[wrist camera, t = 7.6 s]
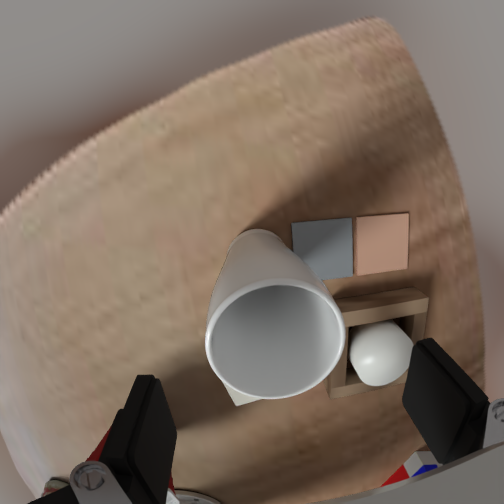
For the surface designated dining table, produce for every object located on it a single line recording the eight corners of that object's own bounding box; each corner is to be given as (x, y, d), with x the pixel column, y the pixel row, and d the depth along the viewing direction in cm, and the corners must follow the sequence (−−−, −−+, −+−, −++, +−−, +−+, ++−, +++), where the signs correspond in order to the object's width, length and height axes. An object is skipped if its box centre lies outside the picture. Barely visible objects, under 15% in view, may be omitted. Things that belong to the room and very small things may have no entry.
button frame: (323, 382, 33) (330, 399, 30) (324, 300, 30) (332, 314, 27) (404, 365, 33) (415, 379, 30) (414, 286, 31) (428, 297, 28)
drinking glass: (288, 295, 30) (330, 401, 15) (215, 289, 29) (200, 397, 15) (299, 223, 28) (362, 283, 14) (222, 215, 28) (207, 270, 13)
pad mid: (295, 282, 30) (295, 283, 29) (291, 222, 28) (291, 223, 28) (351, 275, 30) (352, 276, 29) (350, 217, 28) (351, 218, 28)
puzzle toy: (415, 450, 38) (439, 494, 29) (451, 450, 40) (475, 488, 30) (379, 487, 41) (396, 529, 31) (417, 485, 42) (435, 522, 32)
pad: (356, 274, 30) (357, 275, 29) (355, 217, 28) (356, 217, 28) (405, 267, 30) (407, 268, 30) (407, 213, 28) (408, 213, 28)
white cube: (235, 381, 32) (236, 406, 29) (220, 353, 31) (219, 376, 28) (271, 370, 32) (275, 394, 28) (258, 340, 31) (261, 363, 27)
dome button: (343, 368, 32) (355, 391, 28) (345, 319, 30) (359, 339, 26) (394, 358, 32) (409, 378, 28) (399, 310, 30) (418, 327, 26)
